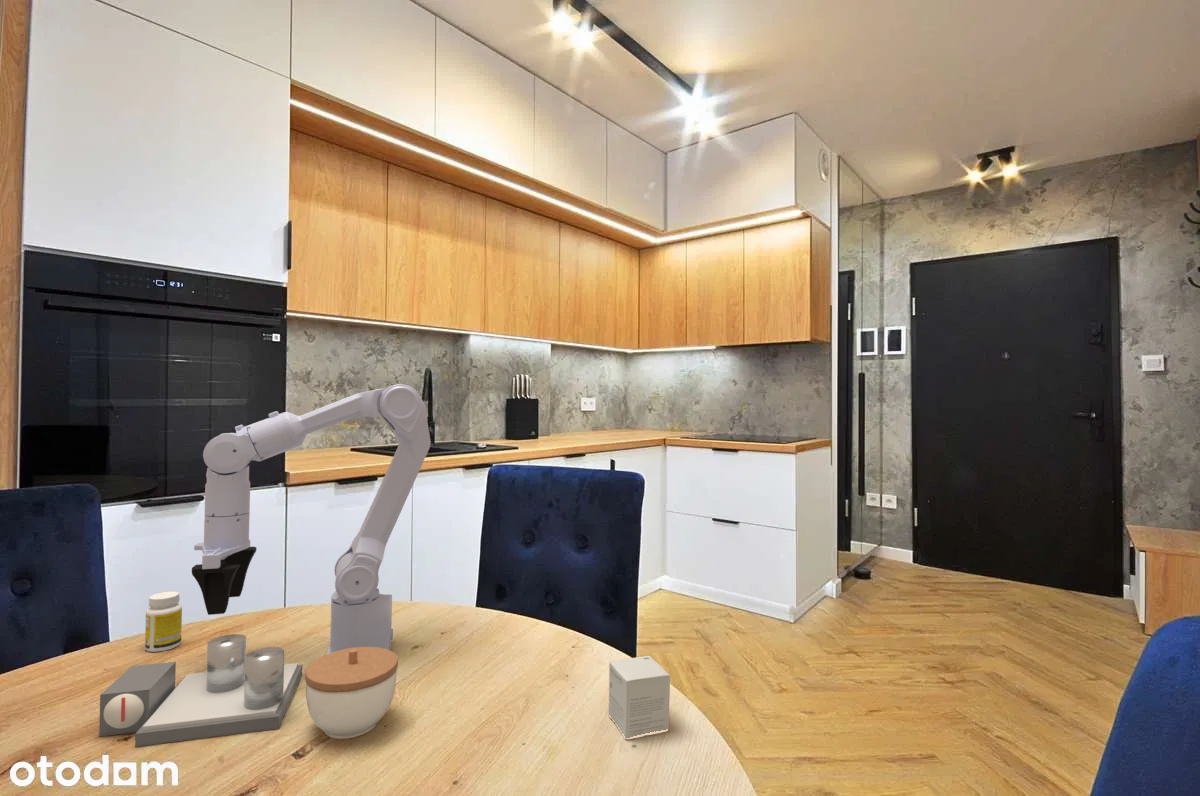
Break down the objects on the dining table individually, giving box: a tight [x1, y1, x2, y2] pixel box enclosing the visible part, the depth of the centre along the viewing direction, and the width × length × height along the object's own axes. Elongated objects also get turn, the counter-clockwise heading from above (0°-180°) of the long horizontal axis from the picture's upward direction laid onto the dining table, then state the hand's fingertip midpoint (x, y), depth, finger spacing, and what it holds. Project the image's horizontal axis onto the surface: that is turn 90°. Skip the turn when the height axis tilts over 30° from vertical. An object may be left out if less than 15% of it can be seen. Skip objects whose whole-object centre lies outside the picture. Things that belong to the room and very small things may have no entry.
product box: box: [608, 655, 671, 738], centre depth 75 cm, size 6×6×7 cm
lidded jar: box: [304, 647, 399, 740], centre depth 74 cm, size 11×11×9 cm
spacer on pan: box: [244, 646, 285, 710], centre depth 75 cm, size 4×4×6 cm
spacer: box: [206, 633, 247, 693], centre depth 79 cm, size 4×4×6 cm
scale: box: [98, 661, 304, 748], centre depth 77 cm, size 20×15×5 cm
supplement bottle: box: [144, 590, 183, 653], centre depth 96 cm, size 5×5×8 cm
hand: (225, 604), depth 88 cm, fingers open, 7 cm apart
